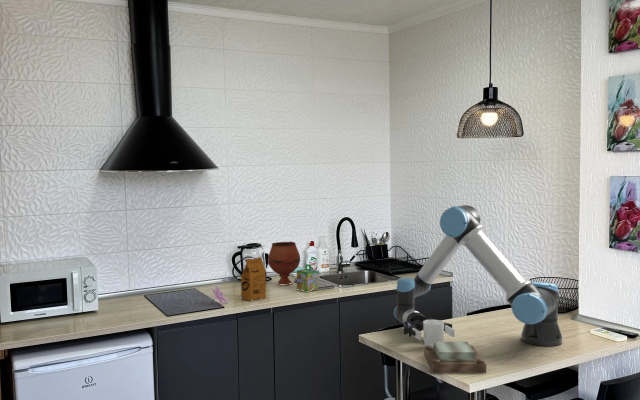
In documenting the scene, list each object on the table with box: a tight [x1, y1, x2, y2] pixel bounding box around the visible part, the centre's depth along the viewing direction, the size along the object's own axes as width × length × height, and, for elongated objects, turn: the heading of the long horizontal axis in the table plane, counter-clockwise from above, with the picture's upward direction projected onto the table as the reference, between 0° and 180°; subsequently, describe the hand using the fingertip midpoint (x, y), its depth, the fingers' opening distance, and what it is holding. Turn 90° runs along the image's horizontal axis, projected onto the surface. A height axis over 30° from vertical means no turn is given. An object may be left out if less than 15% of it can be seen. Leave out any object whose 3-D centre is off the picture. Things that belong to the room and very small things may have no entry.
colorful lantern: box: [296, 263, 319, 291], centre depth 330 cm, size 9×9×15 cm
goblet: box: [267, 241, 301, 284], centre depth 348 cm, size 19×19×25 cm
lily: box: [209, 283, 229, 306], centre depth 298 cm, size 12×12×10 cm
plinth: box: [423, 341, 487, 374], centre depth 203 cm, size 18×18×6 cm
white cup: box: [422, 319, 445, 347], centre depth 221 cm, size 8×8×10 cm
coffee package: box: [240, 256, 267, 302], centre depth 309 cm, size 10×12×22 cm
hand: (436, 334), depth 218 cm, fingers open, 13 cm apart
